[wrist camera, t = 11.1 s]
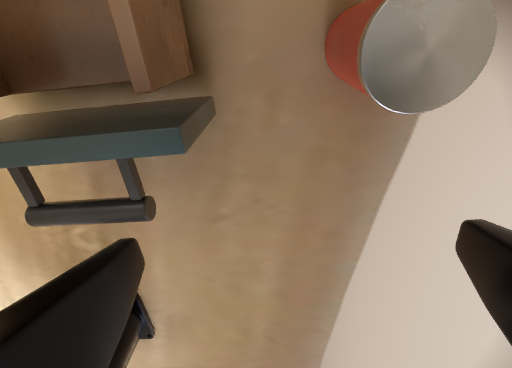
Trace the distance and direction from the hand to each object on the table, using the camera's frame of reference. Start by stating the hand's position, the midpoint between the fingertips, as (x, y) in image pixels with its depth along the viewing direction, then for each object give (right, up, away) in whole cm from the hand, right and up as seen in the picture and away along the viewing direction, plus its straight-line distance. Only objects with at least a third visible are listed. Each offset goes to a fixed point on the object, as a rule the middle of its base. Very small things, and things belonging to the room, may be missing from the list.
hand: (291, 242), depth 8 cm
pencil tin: (+5, +10, +9) cm, 14 cm away
